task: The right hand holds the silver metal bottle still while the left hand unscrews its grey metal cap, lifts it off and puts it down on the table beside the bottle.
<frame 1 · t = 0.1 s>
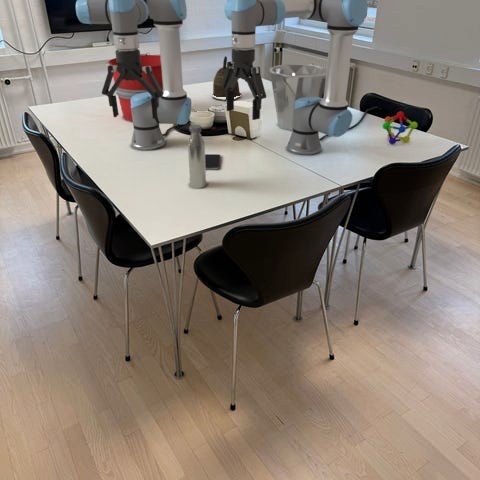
left hand: (135, 116, 150), 28 cm above the table, tool pointing down, fingers open, 13 cm apart
right hand: (242, 114, 153), 28 cm above the table, tool pointing down, fingers open, 13 cm apart
bucket: (295, 125, 233), on the table
cap: (195, 127, 158), point 22 cm above the table, screwed on, not yet turned
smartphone: (211, 162, 189), on the table
bell: (226, 97, 281), on the table
bottle: (198, 184, 170), on the table
bucket 2: (146, 115, 247), on the table
educational toy: (395, 143, 211), on the table
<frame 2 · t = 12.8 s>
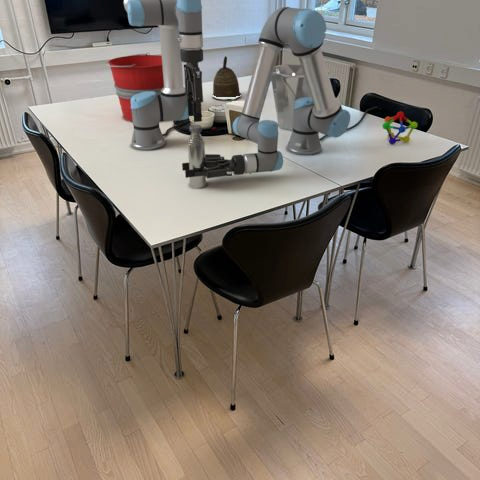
left hand: (194, 118, 156), 26 cm above the table, tool pointing down, fingers open, 6 cm apart
right hand: (184, 170, 165), 7 cm above the table, tool horizontal, fingers closed on bottle, 6 cm apart
bottle: (198, 184, 170), on the table, touching right hand
everything else where it was.
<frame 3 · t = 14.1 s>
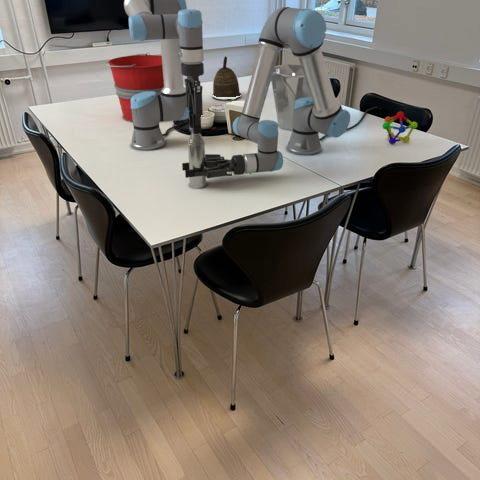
left hand: (195, 131, 159), 21 cm above the table, tool pointing down, fingers closed on cap, 4 cm apart
right hand: (184, 170, 165), 7 cm above the table, tool horizontal, fingers closed on bottle, 6 cm apart
cap: (195, 127, 158), point 22 cm above the table, screwed on, not yet turned, touching left hand
bottle: (198, 184, 170), on the table, touching right hand
everything else where it was.
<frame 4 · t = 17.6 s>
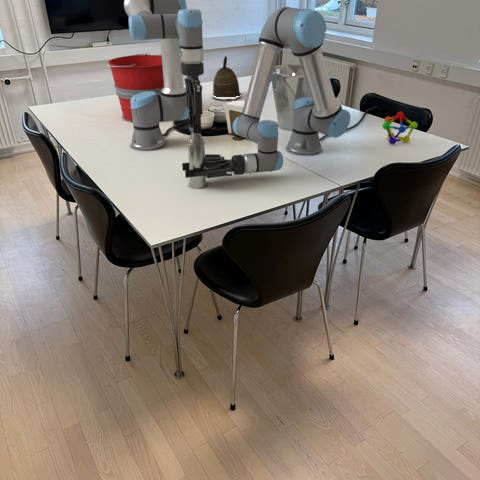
left hand: (195, 130, 159), 21 cm above the table, tool pointing down, fingers closed on cap, 4 cm apart
right hand: (184, 170, 165), 7 cm above the table, tool horizontal, fingers closed on bottle, 6 cm apart
cap: (195, 126, 158), point 23 cm above the table, turned 106° so far, risen 0.1 cm, still on its thread, touching left hand
bottle: (198, 184, 170), on the table, touching right hand
everything else where it was.
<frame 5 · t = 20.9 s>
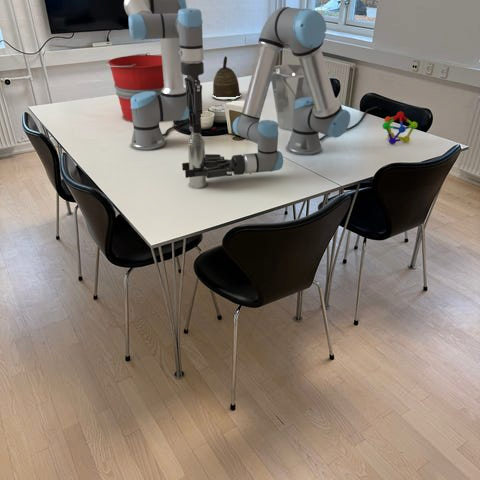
left hand: (195, 130, 159), 21 cm above the table, tool pointing down, fingers closed on cap, 4 cm apart
right hand: (184, 170, 165), 7 cm above the table, tool horizontal, fingers closed on bottle, 6 cm apart
cap: (195, 126, 158), point 23 cm above the table, turned 211° so far, risen 0.2 cm, still on its thread, touching left hand
bottle: (198, 184, 170), on the table, touching right hand
everything else where it was.
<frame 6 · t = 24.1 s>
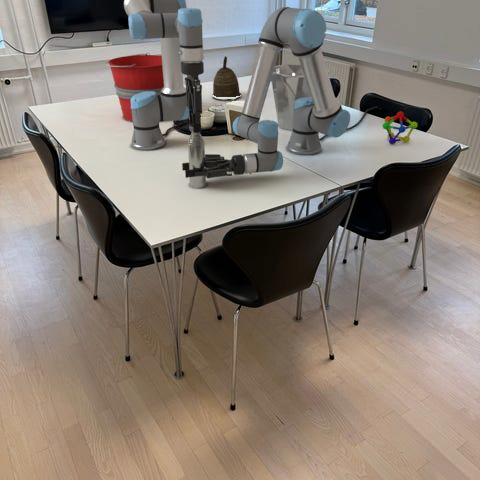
left hand: (195, 130, 159), 21 cm above the table, tool pointing down, fingers closed on cap, 4 cm apart
right hand: (184, 170, 165), 7 cm above the table, tool horizontal, fingers closed on bottle, 6 cm apart
cap: (195, 126, 158), point 23 cm above the table, turned 317° so far, risen 0.4 cm, still on its thread, touching left hand
bottle: (198, 184, 170), on the table, touching right hand
everything else where it was.
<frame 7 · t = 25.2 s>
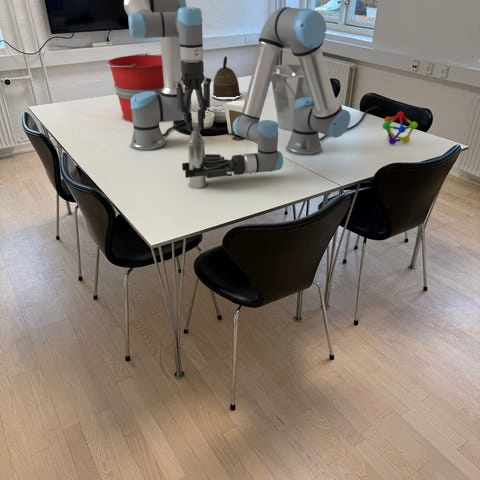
left hand: (195, 129, 158), 22 cm above the table, tool pointing down, fingers closed on cap, 4 cm apart
right hand: (184, 170, 165), 7 cm above the table, tool horizontal, fingers closed on bottle, 6 cm apart
cap: (195, 125, 158), point 23 cm above the table, off its thread, touching left hand
bottle: (198, 184, 170), on the table, touching right hand
everything else where it was.
when the left hand's fingers open (1 cm above the table, at t = 31.2 s): cap stays where it is, point 1 cm above the table.
when the right hand's fingers open (7 cm above the table, at t = 32.3 s): bottle stays where it is, on the table.
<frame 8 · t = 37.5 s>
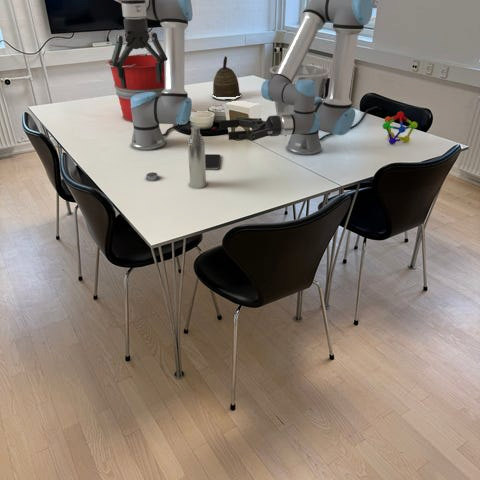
left hand: (142, 85, 156), 36 cm above the table, tool pointing down, fingers open, 13 cm apart
right hand: (224, 130, 161), 21 cm above the table, tool horizontal, fingers open, 13 cm apart
cap: (152, 175, 174), point 1 cm above the table, off its thread
bottle: (198, 184, 170), on the table
everything else where it was.
at the end: cap came off its thread; cap point 1.4 cm above the table; the left hand is holding nothing; the right hand is holding nothing; bottle tilted 0°; bottle moved 0.0 cm from its start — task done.
